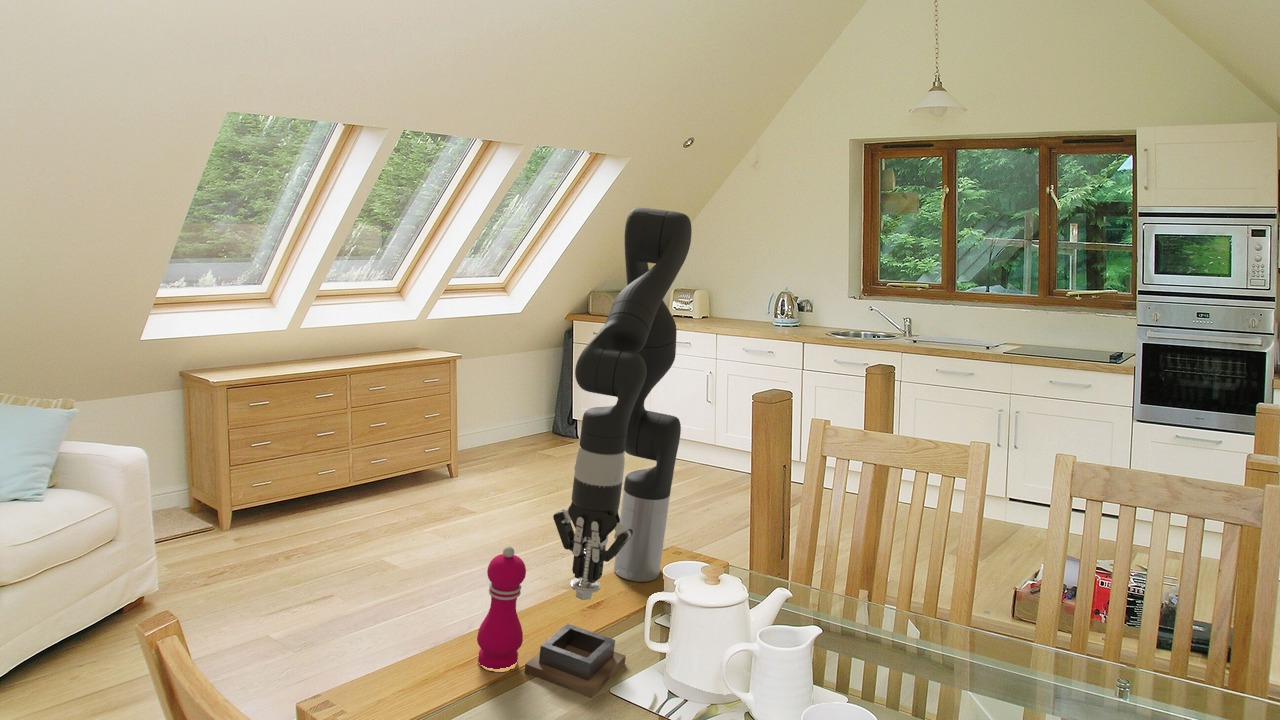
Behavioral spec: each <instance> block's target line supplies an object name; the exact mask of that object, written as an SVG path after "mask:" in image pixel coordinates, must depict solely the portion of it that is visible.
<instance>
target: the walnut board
mask: <svg viewBox="0 0 1280 720" xmlns="http://www.w3.org/2000/svg"><path fill="white" fill-rule="evenodd" d="M564 650H566V651H569V652H572V653H575V654H578V655H580V656H583V657H586V658H588V657H589V656H590V655H591V654H592V653H589V652H587V651H584V650H581V649H578V648H575V647H573V646H570V645H568V646H567V647H566V648H565V649H564ZM539 656H540V651H539V652H538V653H537V654H536V655H534V656H533V657H531V659H529V660H528V661H527V662H526V663H525V665H524V673H525V674H527V675H531V676H533V677H536V678H537V679H541V680H543V681H546V682H548V683H551V684H554V685H557V686H560V687H562V688H564V689H567V690H570V691H573V692H576V693H578V694H580V695H584V696H586V697H589V698H590V699H591V698H593V697H594V696H595V695H596V694H597V693H598V692H599V690H601V689H602V688H603V687H604V686H605V685H606V683H607V682H608V681H609V680H610V679H612V677H613V676H615V674H617V672H618V671H619V670H620V669H622V668H623V666H625V664H626V658H627V657H626V656H627V655H625V654H623V653H619V652H617V651H614V655H613V657H612V658H611V659H610V660H609V661H608V662H607V663H606V664H605V665H604V666H603V667H602V668H601V669H600V670H599V671H598V672H597V673H596V674H595V675H594V676H593V677H592V678H591V679H590V680H589V681H587V680H584V679H581V678H579V677H576V676H573V675H570V674H568V673H565V672H562V671H560V670H557V669H554V668H551V667H549V666H546V665H543V664H541V663H539Z"/></svg>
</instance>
